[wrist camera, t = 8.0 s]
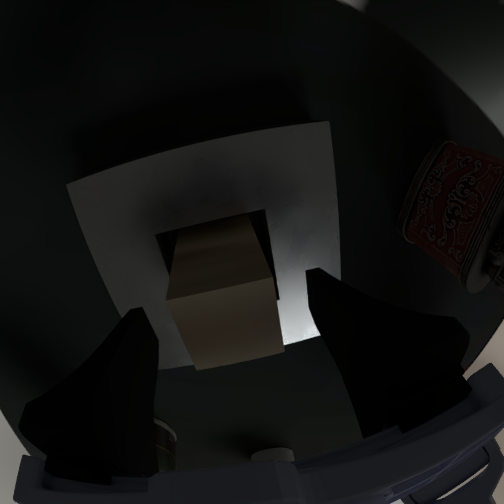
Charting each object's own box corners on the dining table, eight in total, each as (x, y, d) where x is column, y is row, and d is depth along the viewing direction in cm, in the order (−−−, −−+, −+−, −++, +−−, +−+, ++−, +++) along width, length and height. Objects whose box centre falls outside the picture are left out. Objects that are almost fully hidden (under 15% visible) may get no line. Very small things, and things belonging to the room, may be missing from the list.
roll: (323, 523, 21) (289, 533, 23) (300, 449, 32) (272, 464, 34) (288, 528, 19) (253, 537, 21) (268, 444, 30) (240, 459, 31)
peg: (258, 272, 19) (284, 351, 12) (196, 286, 18) (196, 370, 12) (247, 213, 17) (273, 276, 10) (179, 228, 16) (165, 300, 10)
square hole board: (327, 307, 21) (340, 329, 18) (155, 345, 20) (152, 370, 18) (311, 119, 15) (328, 121, 12) (84, 174, 14) (66, 184, 12)
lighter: (416, 244, 20) (506, 323, 11) (387, 229, 19) (488, 314, 10) (460, 153, 17) (567, 197, 8) (435, 129, 16) (556, 165, 7)
